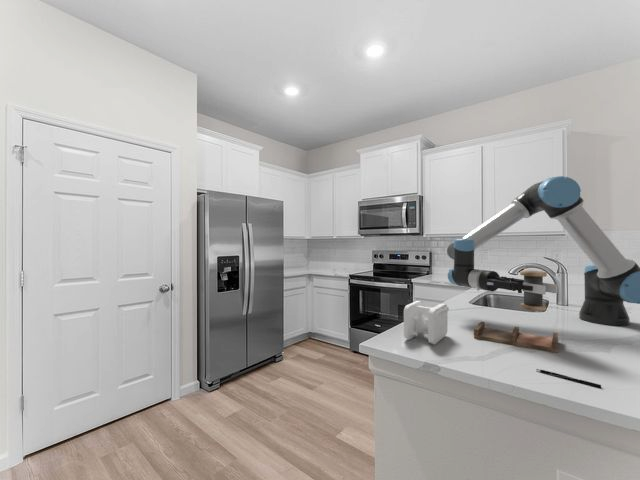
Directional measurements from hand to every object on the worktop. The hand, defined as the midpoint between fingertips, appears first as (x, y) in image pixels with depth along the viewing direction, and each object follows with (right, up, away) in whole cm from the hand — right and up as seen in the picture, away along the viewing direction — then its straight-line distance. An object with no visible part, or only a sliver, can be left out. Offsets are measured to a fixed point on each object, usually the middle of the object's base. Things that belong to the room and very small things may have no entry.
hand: (550, 289), depth 94 cm
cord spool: (-2, -7, +5) cm, 9 cm away
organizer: (-35, -19, +10) cm, 41 cm away
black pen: (-11, -19, -20) cm, 30 cm away
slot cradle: (-6, -18, +8) cm, 21 cm away
